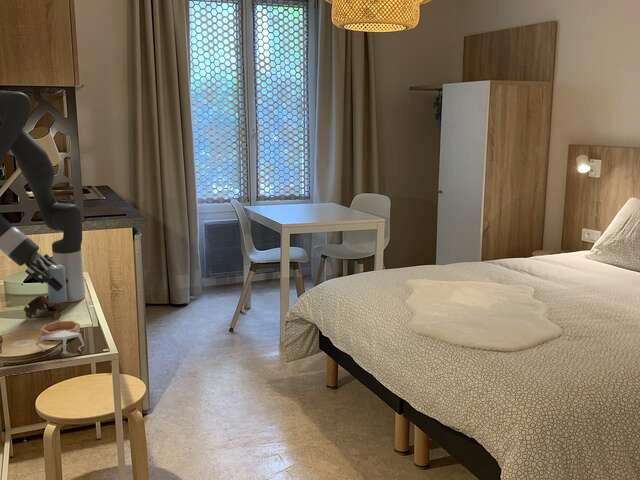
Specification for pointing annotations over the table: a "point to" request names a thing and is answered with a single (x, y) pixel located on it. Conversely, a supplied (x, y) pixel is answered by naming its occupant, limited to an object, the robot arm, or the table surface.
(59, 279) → the pebble cup
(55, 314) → the pottery mug
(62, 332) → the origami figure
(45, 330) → the terracotta bowl
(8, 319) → the table surface
